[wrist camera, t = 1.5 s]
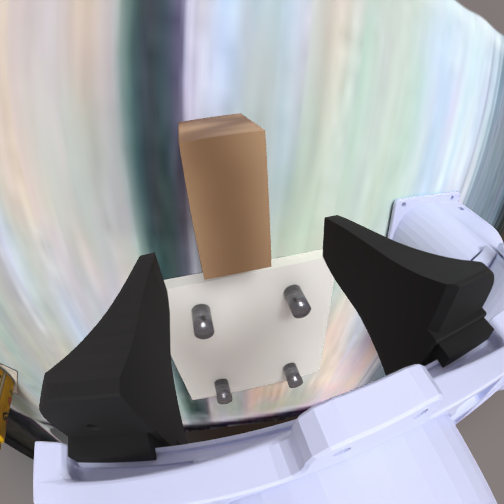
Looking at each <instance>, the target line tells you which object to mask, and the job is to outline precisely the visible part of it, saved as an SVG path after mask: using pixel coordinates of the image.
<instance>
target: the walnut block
mask: <svg viewBox="0 0 504 504" xmlns="http://www.w3.org/2000/svg"><path fill="white" fill-rule="evenodd" d="M179 146H180V153H181V159H182V165H183V171H184V177H185V183H186V189H187V194H188V200H189V205H190V211H191V216H192V221H193V227H194V232H195V237H196V242H197V247H198V252H199V257H200V261H201V266H202V271H203V276H204V280H207V279H212V278H217V277H222V276H227V275H233V274H238V273H243V272H248V271H253V270H258V269H263V268H268V267H272V266H271V241H270V217H269V196H268V175H267V156H266V138H265V130H264V129H262V128H261V127H259V126H258V125H256V124H255V123H254V122H252V121H251V120H249V119H248V118H246V117H245V116H244V115H242V114H232V115H224V116H216V117H209V118H203V119H196V120H190V121H184V122H179Z"/></svg>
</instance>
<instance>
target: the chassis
mask: <svg viewBox="0 0 504 504" xmlns="http://www.w3.org/2000/svg"><path fill="white" fill-rule="evenodd" d="M322 255H323V249H321V250H316V251H311V252H306V253H301V254H296V255H291V256H286V257H281V258H276V259H271V266H272V267H268V268H263V269H258V270H253V271H248V272H243V273H238V274H233V275H227V276H222V277H217V278H212V279H207V280H204V276H203V273H198V274H193V275H188V276H182V277H177V278H172V279H167V280H164V283H165V286H166V288H167V292H168V300H169V308H170V349H171V356H172V358H173V360H174V363H175V365H176V367H177V369H178V371H179V373H180V375H181V377H182V379H183V381H184V384H185V386H186V388H187V390H188V392H189V394H190V396H191V398H192V399H193V400H195V399H201V398H207V397H213V396H217V400H218V403H219V404H227V403H230V402H231V401H232V396H231V393H234V392H238V391H243V390H248V389H252V388H257V387H261V386H265V385H269V384H273V383H277V382H281V381H285V380H287V382H288V385H289V387H290V388H295V387H298V386H300V385H301V384H302V383H303V381H302V378H301V376H303V375H307V374H310V373H314V372H317V371H319V368H320V363H321V358H322V352H323V347H324V341H325V335H326V329H327V323H328V317H329V311H330V304H331V297H332V290H333V283H334V277H333V276H332V274H331V272H330V270H329V268H328V267H327V265H326V262H325V260H324V258H323V256H322Z"/></svg>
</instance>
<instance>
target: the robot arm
mask: <svg viewBox="0 0 504 504" xmlns="http://www.w3.org/2000/svg"><path fill="white" fill-rule="evenodd" d="M459 199H460V193H459V192H457V191H456V192H448V193H439V194H431V195H424V196H416V197H408V198H401V199H397V200H395V202H394V204H393V210H392V215H391V221H390V227H389V232H388V237H384V236H382V235H380V234H378V233H376V232H374V231H371V230H369V229H367V228H365V227H363V226H361V225H359V224H357V223H355V222H352V221H350V220H348V219H346V218H343V217H341V216H338V215H336V216H330V217H325V221H324V239H323V255H322V256H323V258H324V260H325V262H326V265H327V267H328V268H329V270H330V272H331V274H332V276H333V277H334V279H335V280H336V282H337V283H338V284H339V286H340V287H341V289H342V290H343V292H344V293H345V295H346V296H347V297H348V299H349V300H350V302H351V303H352V305H353V306H354V308H355V309H356V311H357V312H358V314H359V316H360V317H361V319H362V321H363V323H364V325H365V327H366V329H367V331H368V333H369V335H370V337H371V339H372V342H373V344H374V346H375V348H376V351H377V353H378V356H379V358H380V361H381V363H382V366H383V368H384V371H385V374H386V376H385V377H383V378H380V379H378V380H376V381H373V382H371V383H369V384H366V385H364V386H361V387H359V388H356V389H354V390H351V391H349V392H346V393H343V394H341V395H338V396H335V397H332V398H330V399H328V400H326V401H323V402H321V403H319V404H317V405H314V406H312V407H311V408H310V409H308V410H307V411H305V412H304V413H302V414H301V415H299V417H298V418H297V419H295V420H292V421H289V422H285V423H282V424H278V425H274V426H271V427H267V428H263V429H259V430H255V431H251V432H247V433H243V434H238V435H234V436H229V437H224V438H220V439H214V440H208V441H203V442H197V443H190V444H188V443H187V440H186V436H185V432H184V428H183V424H182V420H181V415H180V411H179V406H178V401H177V396H176V391H175V385H174V379H173V373H172V366H171V349H170V308H169V300H168V292H167V288H166V286H165V283H164V280H163V277H162V274H161V271H160V268H159V265H158V262H157V258H156V255H155V253H150V254H146V255H141V256H140V257H139V259H138V260H137V262H136V264H135V266H134V268H133V270H132V271H131V273H130V275H129V277H128V279H127V280H126V282H125V284H124V286H123V287H122V289H121V291H120V292H119V294H118V296H117V297H116V299H115V300H114V302H113V304H112V305H111V307H110V308H109V309H108V311H107V312H106V314H105V315H104V316H103V317H102V319H101V320H100V321H99V323H98V324H97V325H96V326H95V327H94V328H93V330H92V331H91V332H90V333H89V334H88V335H87V336H86V337H85V339H84V340H83V341H82V342H81V343H80V344H79V345H78V346H77V347H76V348H75V349H74V350H73V351H71V352H70V353H69V354H68V355H67V356H66V357H65V358H64V359H63V360H61V361H60V362H59V363H58V364H56V365H55V366H54V367H53V368H51V369H50V370H49V371H48V372H46V373H45V375H44V380H43V385H42V391H41V397H40V404H39V410H40V412H41V414H42V415H43V417H44V418H45V419H46V420H47V421H48V422H50V423H51V424H52V425H53V426H55V427H56V428H57V429H59V430H60V431H61V432H63V433H64V434H66V435H67V436H68V445H67V444H64V443H60V442H44V441H36V442H35V451H34V473H33V496H34V497H33V499H34V504H497V502H496V500H495V498H494V496H493V494H492V492H491V490H490V488H489V486H488V484H487V482H486V480H485V478H484V476H483V474H482V472H481V470H480V468H479V467H478V465H477V463H476V461H475V459H474V457H473V456H472V454H471V452H470V451H469V448H468V447H467V445H466V443H465V441H464V440H463V438H462V436H461V435H460V433H459V431H458V429H457V428H456V426H455V424H456V423H458V422H459V421H460V420H462V419H463V418H464V417H466V416H467V415H468V414H469V413H471V412H472V411H473V410H475V409H476V408H477V407H478V406H480V405H481V404H482V403H483V402H484V401H485V400H487V399H488V398H489V397H490V396H491V395H493V394H494V393H495V392H496V391H497V390H504V243H503V241H502V239H501V237H500V235H499V233H498V232H497V230H496V229H495V228H494V227H492V226H491V225H490V224H489V223H487V222H486V221H485V220H483V219H482V218H481V217H479V216H478V215H477V214H475V213H474V212H473V211H471V210H470V209H468V208H467V207H466V206H464V205H463V204H461V203H460V202H459ZM402 204H403V205H402Z"/></svg>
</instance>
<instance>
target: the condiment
mask: <svg viewBox="0 0 504 504" xmlns="http://www.w3.org/2000/svg"><path fill="white" fill-rule="evenodd" d="M13 393H15V394H17V395H18V391H17V371H15V370H12V369H10V368H8V367H6V366H4V365H1V364H0V449H1V443H3V442H4V438H5V432H6V426H7V420H8V414H9V410H10V404H11V400H12V395H13Z"/></svg>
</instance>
